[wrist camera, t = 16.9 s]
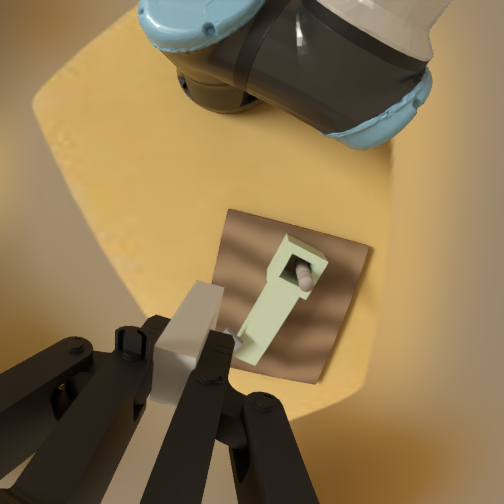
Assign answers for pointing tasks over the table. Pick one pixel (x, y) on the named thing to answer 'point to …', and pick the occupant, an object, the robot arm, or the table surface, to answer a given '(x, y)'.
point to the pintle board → (304, 311)
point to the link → (277, 298)
